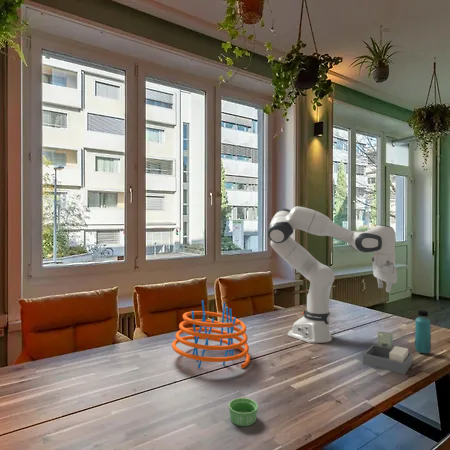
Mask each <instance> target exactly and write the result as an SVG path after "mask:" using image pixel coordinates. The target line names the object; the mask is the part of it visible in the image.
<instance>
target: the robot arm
mask: <svg viewBox="0 0 450 450" xmlns="http://www.w3.org/2000/svg"><path fill="white" fill-rule="evenodd" d="M294 230H300V231H304V232H306V233H308V234H310V235H314V236H320V237H326V236H327V237H332V238H335V239H337V240H340V241H342V242H345V243H347V244H348V245H349V246H350V247H351V248H352V249H354V250H355V251H358V252H360V253H365V254H367V253H372V252H374V255H373V256H372V257H371V262H372V274H373V277H374V278H376V280H377V285H378V286H377V287H378V288H379V289H383V288H384V283H383V282H385V284H386V287H385V292H386V293H391V292H392V287H393V284H397V283H398V274H397V273H398V271H397V266H395V265H396V251H395V248H396V243H397V242H396V231H395V229H394V228H393V227H392V226H390V225H384V224H376V225H375V226H373V227H371V228H370V229H368V230H351V229H349V228H345V227H344V226H342V225H338V224H337V223H335V222H333V221H332V219H331V218H329V216H327V215H325V214H323V213H322V212H320V211H319V210H318V211H317V210H314V209H311V208H308V207H303V206H299V205H297V206H294V207H292V208H291V209H288V208H280V209H279V210H277V211H276V212H275V213H274V216H273V217H272V218H271V220H270V223H269V226H268V228H267V236H268V238H269V240H270V246H271V248H272V249H273V251H275V253H276V254H278V256H280V258H282V260H284V261H285V262H286V263H288V264H289V265H290V266H291V267H292V268H294V269H295V270H296V272H299V273H300V274H301V276H303V277H304V278H305V279H306V280H308V281H309V289H308V293H307V294H306V309H305V310H303V311H302V312H301V314H302V315H303V316H302V317H300V318H298V319H297V320H295V321H294V323H293V324H292V327H291V328H292V329H290V330H289V331H288V332H287V336H289V337H291V338H295V339H297V340H300V341H302V342H306V343H308V344H316V343H323V344H324V343H329V342H331V341H332V340H333V338H332V334H331V330H330V329H331V327H330V322H331V313H330V312H331V311H330V297H331V295H330V294H331V289H332V285H333V283H334V282H335V279H336V278H335V277H336V275H335V273H334V271H333V269H331V267H329V265H325V264H324V263H322V262H320V261H319V260H317V259H316V258H315V257H314V256H313V255H312V254H311V253H310V252H309V251H308V250H307V249H306V248H304V247H303V246H302V245H301V244H300V243H299V242H298V241H296V240H295V239H294V238H293V237H292V236H291V235H293V233H294Z"/></svg>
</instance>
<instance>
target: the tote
mask: <svg viewBox="0 0 450 450" xmlns="http://www.w3.org/2000/svg"><path fill="white" fill-rule="evenodd" d="M392 349H393V348H392ZM392 349H390V348H386V347H382V346H377V344H372V345H371V346H370V347H369V348H368V349H367V350H365V351H364V352H363V354H362V364H363V365H367V366H370V367H373V368H377V369H380V370H381V369H382V370H385V371H389V372H393V373H396V374H399V375H400V374H401V375H406V373H408V370H410V369H409V368H410V367H411V366H412V365H413V353H412V352H408V358H407V359H406V360H405V362H404V363H401V362H397V361H392V360H389V353H390V352H391V350H392Z"/></svg>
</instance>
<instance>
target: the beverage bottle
mask: <svg viewBox="0 0 450 450" xmlns="http://www.w3.org/2000/svg"><path fill="white" fill-rule="evenodd" d="M417 315H418V317H416V318H415V320H414V321H415V327H414V328H415V329H414V338H415V339H414V349H415V351H416V352H419V353H421V354H431V351H432V342H431V340H432V332H431V331H432V329H431V327H432V323H431V320H430V319H429V318H428V317H429V312H428V311H427V310H425V309H419V310H418V311H417Z"/></svg>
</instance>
